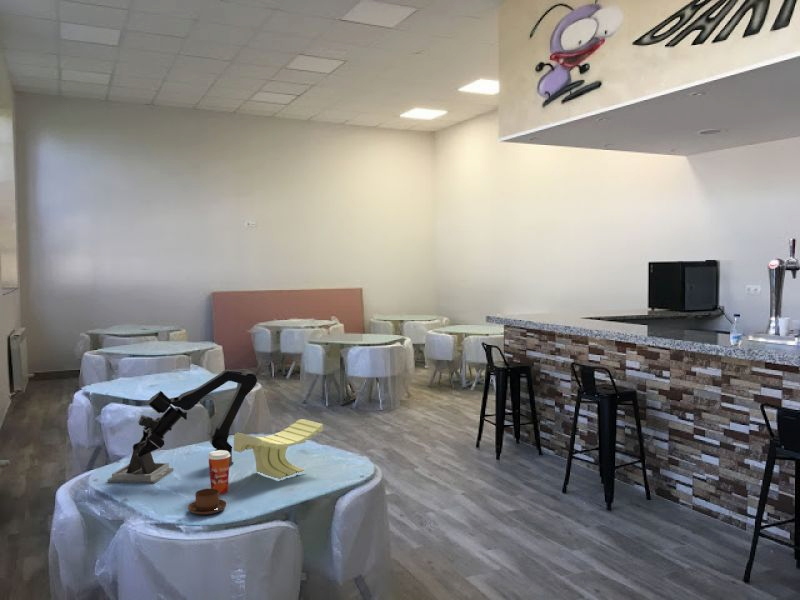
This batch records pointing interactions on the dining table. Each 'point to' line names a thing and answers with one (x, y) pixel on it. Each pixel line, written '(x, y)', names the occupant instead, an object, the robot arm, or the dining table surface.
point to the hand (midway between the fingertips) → (137, 452)
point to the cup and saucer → (207, 502)
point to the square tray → (141, 475)
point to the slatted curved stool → (277, 447)
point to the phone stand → (141, 461)
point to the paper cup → (219, 470)
